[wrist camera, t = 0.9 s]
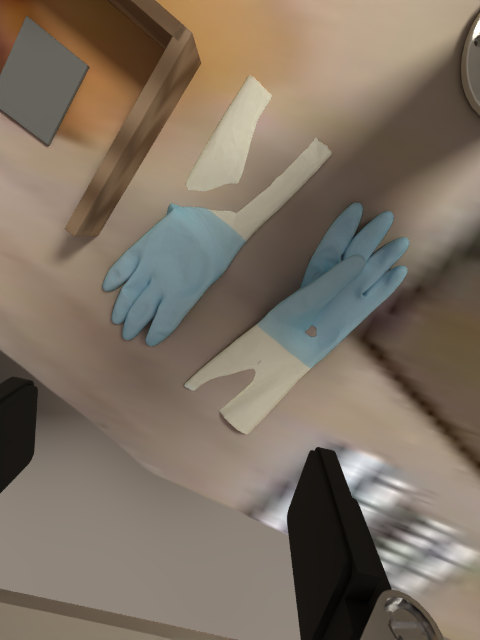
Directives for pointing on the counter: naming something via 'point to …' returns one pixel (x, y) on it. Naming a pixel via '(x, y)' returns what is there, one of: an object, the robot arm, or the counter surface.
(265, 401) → the rubber gloves
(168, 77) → the wooden corner wall
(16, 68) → the pad
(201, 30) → the counter surface
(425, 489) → the counter surface
